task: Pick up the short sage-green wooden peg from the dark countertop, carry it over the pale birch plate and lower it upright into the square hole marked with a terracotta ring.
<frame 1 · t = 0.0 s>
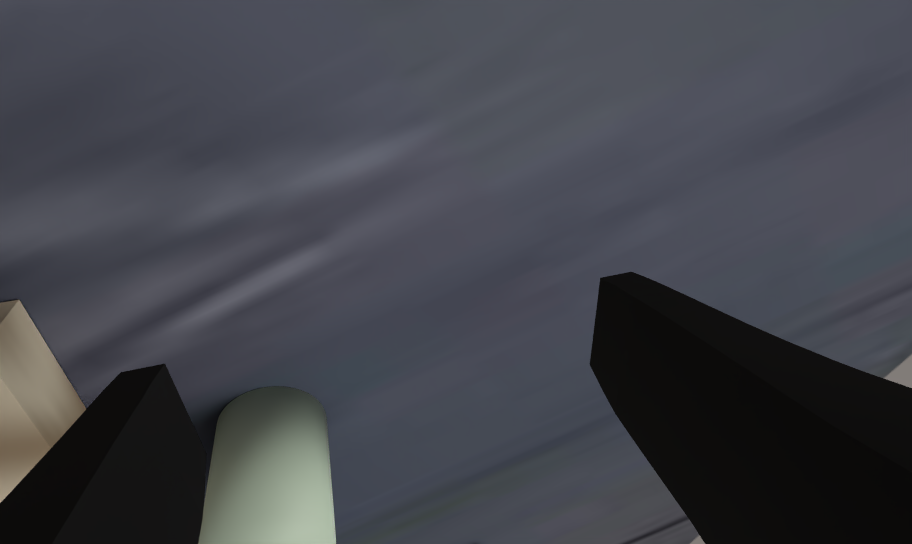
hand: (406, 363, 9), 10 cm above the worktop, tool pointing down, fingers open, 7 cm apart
green peg: (273, 425, 22), on the worktop
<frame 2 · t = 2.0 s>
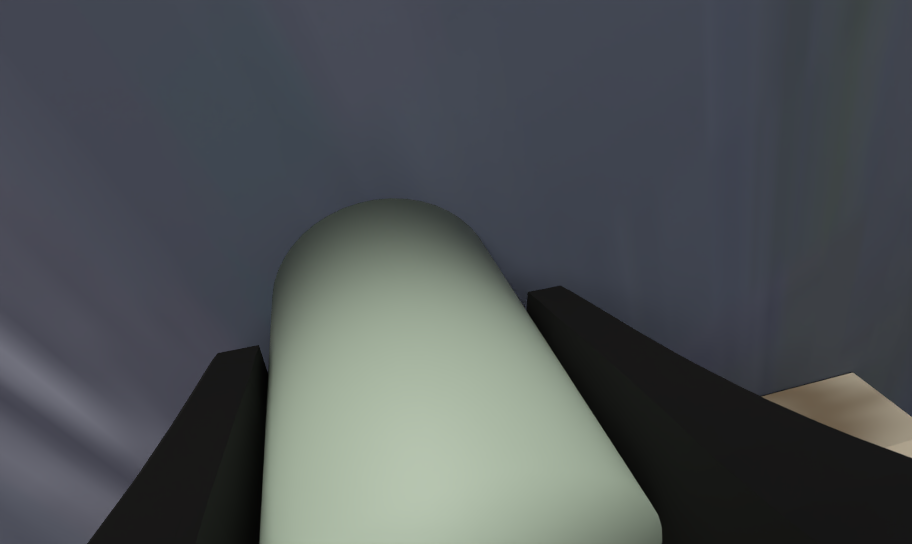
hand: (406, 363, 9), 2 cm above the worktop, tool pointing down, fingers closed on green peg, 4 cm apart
green peg: (388, 300, 10), on the worktop, touching gripper
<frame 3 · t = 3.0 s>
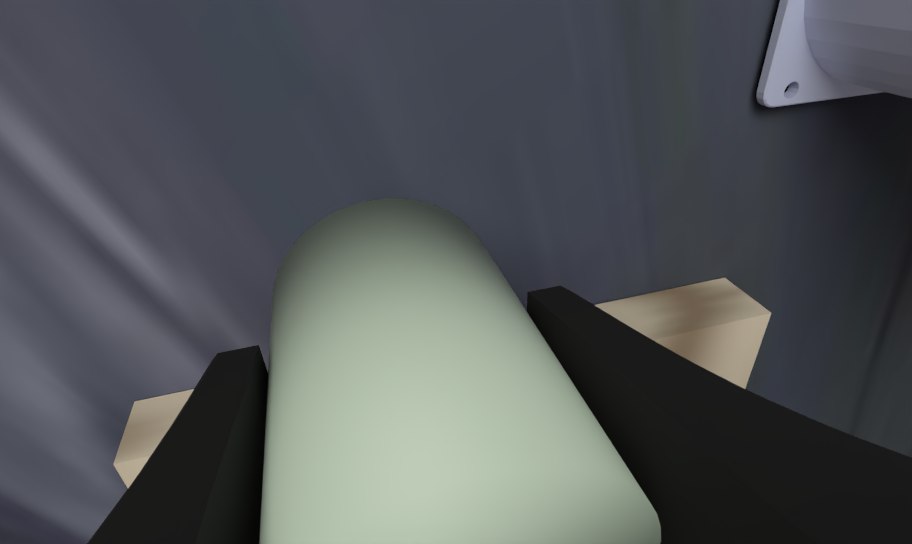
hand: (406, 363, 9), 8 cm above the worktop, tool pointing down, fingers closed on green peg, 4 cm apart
hole plate: (470, 472, 23), on the worktop
green peg: (388, 300, 10), point 6 cm above the worktop, touching gripper
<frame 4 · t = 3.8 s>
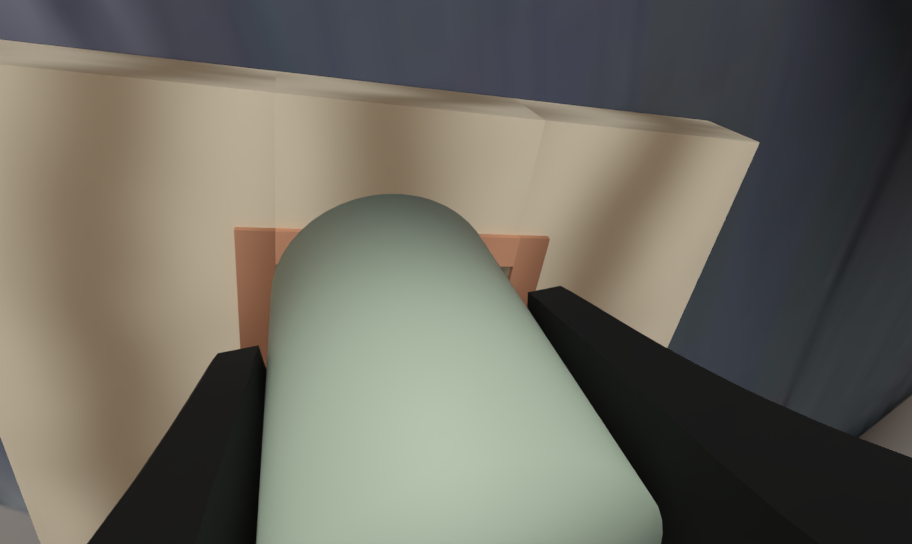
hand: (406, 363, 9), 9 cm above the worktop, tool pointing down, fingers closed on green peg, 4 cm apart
hole plate: (379, 311, 19), on the worktop
green peg: (387, 296, 10), point 7 cm above the worktop, touching gripper
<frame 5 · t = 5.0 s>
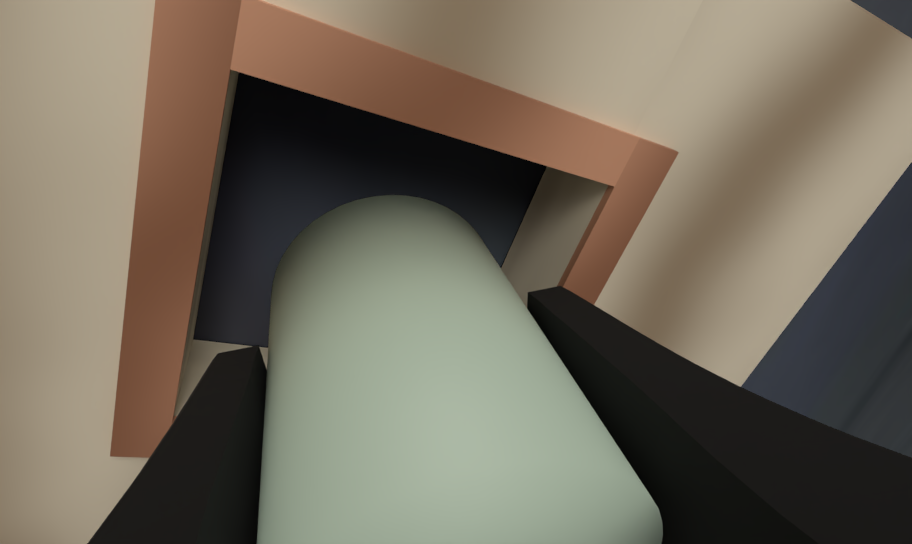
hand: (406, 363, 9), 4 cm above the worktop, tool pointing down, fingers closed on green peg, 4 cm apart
hole plate: (373, 242, 13), on the worktop
green peg: (388, 297, 10), point 2 cm above the worktop, touching gripper
when the fingers open (4 cm above the worktop, at t = 6.0 s): green peg drops 2 cm, resting in hole plate.
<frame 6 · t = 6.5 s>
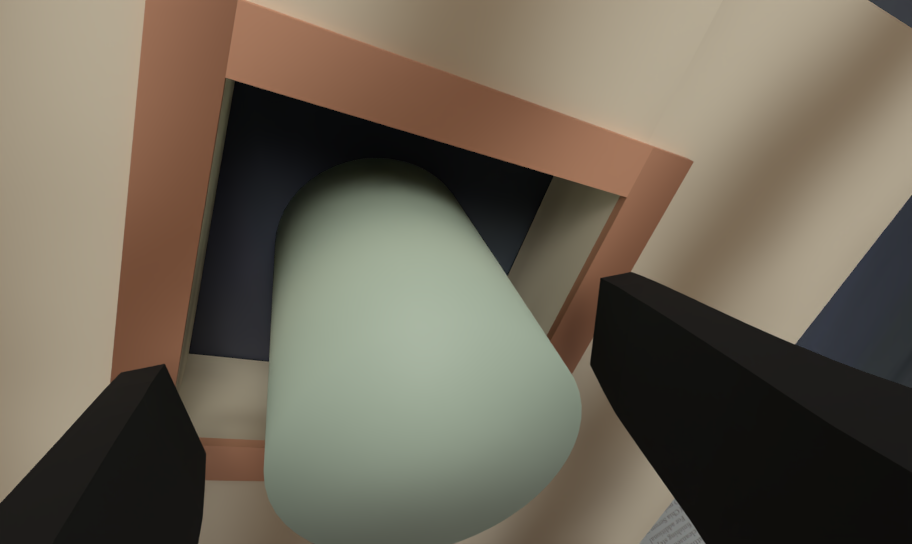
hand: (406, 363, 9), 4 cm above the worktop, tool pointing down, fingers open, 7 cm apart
skincare box: (689, 486, 22), on the worktop
hole plate: (375, 253, 12), on the worktop
green peg: (375, 249, 12), resting in hole plate
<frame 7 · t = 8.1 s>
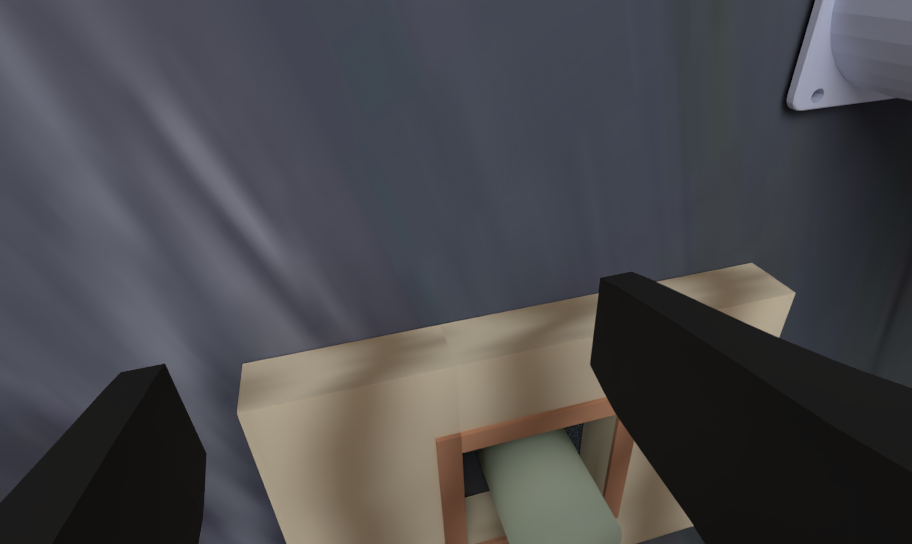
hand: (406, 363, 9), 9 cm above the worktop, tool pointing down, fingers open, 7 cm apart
hole plate: (518, 439, 26), on the worktop
green peg: (517, 437, 26), resting in hole plate
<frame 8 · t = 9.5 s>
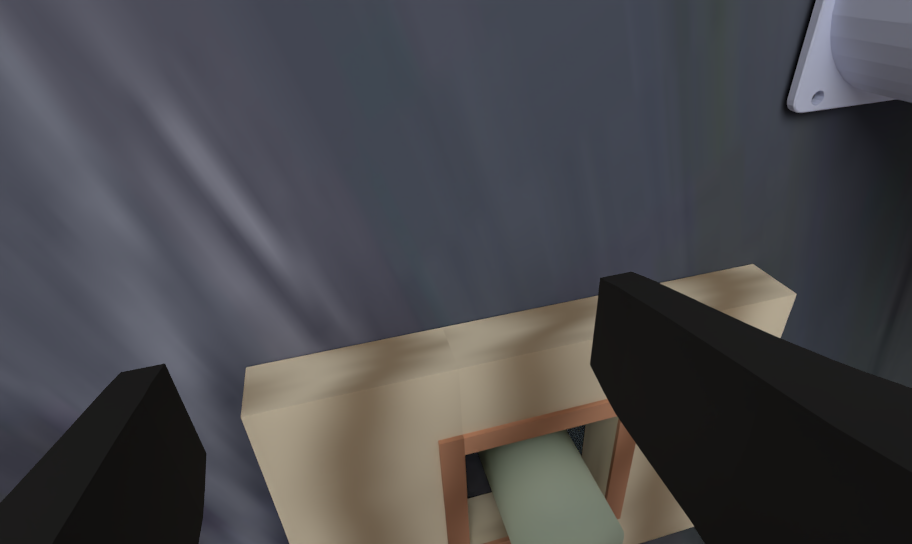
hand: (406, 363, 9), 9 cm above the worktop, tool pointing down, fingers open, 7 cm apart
hole plate: (520, 440, 26), on the worktop
green peg: (520, 439, 26), resting in hole plate
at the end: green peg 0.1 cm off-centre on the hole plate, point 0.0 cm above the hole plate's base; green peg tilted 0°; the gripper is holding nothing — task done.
